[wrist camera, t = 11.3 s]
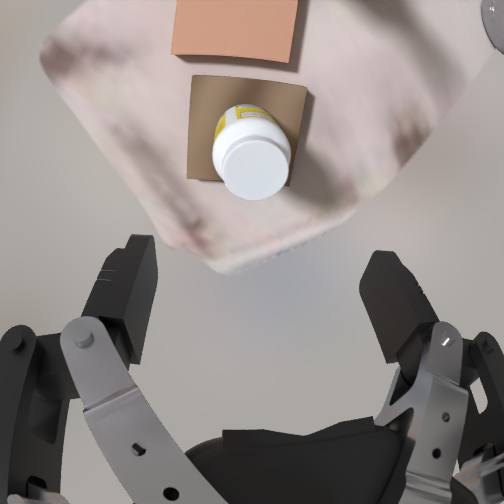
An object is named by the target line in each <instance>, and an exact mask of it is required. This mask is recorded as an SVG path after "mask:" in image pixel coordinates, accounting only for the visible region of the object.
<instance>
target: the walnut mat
mask: <svg viewBox="0 0 504 504" xmlns="http://www.w3.org/2000/svg"><path fill="white" fill-rule="evenodd" d="M306 93H307V87H304V86H300V85H294V84H288V83H282V82H275V81H267V80H259V79H250V78H239V77H227V76H208V75H193V76H192V83H191V96H190V111H189V129H188V152H187V179H202V180H220V181H224V180H223V179H222V178H221V177H220V176H219V175H218V173H217V171H216V169H215V167H214V163H213V155H212V152H213V144H214V137H215V131H216V126H217V123H218V121H219V119H220V117H221V116H222V115H223V114H224V113H225V112H226V111H227V110H229V109H230V108H232V107H234V106H237V105H241V104H251V105H256V106H258V107H261V108H263V109H264V110H266V111H267V112H268V113H269V114H270V115H271V116H272V118H273V119H274V120H275V122H276V123H277V124H278V126H279V127H280V128H281V130H282V131H283V133H284V134H285V136H286V137H287V139H288V142H289V145H290V149H291V158H290V163H289V173H288V178H287V180H286V183H285V184H284V186H289V184H290V179H291V174H292V169H293V163H294V158H295V153H296V148H297V142H298V137H299V132H300V126H301V121H302V115H303V110H304V104H305V99H306Z"/></svg>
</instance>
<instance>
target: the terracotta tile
mask: <svg viewBox="0 0 504 504" xmlns="http://www.w3.org/2000/svg"><path fill="white" fill-rule="evenodd" d="M297 5H298V0H177V6H176V13H175V21H174V29H173V38H172V48H171V55H215V56H232V57H243V58H253V59H262V60H269V61H276V62H283V63H289V57H290V50H291V44H292V37H293V31H294V24H295V18H296V11H297Z"/></svg>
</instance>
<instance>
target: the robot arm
mask: <svg viewBox="0 0 504 504" xmlns="http://www.w3.org/2000/svg"><path fill="white" fill-rule="evenodd" d="M482 18H483V22H484V26H485V29H486V31H487V34H488V36H489V38H490V40H491V41H492V43H493V44H494V46H495V47H496V48H497V49H498V50H499V51H500V52H501V53H502V54H504V0H483V1H482ZM155 252H156V251H155V242H154V237H153V235H135V234H132V235H131V236H130V238H129V240H128V243H127V245H126V247H125V249H121V248H117V249H116V250H114V251H113V252H112V253H111V254H110V255H109V256H108V257H107V258H106V260H105V262H104V264H103V267H102V269H101V271H100V273H99V275H98V277H97V281H96V282H95V284H94V286H93V289H92V291H91V293H90V296H89V298H88V300H87V303H86V305H85V308H84V310H83V312H82V315H81V317H79V318H76V319H74V320H72V321H71V322H69V323H68V324H67V325H66V326H65V327H64V329H63V331H62V332H61V333H57V334H50V335H42V336H36V335H35V333H34V332H33V330H32V329H31V328H30V327H28V326H25V325H17V326H14V327H12V328H10V329H9V330H8V331H7V332H6V333H5V334H4V335H3V337H2V339H1V341H0V504H70V503H69V502H68V501H67V500H66V499H65V498H64V497H63V496H62V495H60V482H61V481H60V480H61V465H62V453H63V443H64V435H65V427H66V420H67V414H68V408H69V402H70V399H75V398H81V400H82V402H83V405H84V408H85V409H84V411H83V414H84V417H85V420H86V422H87V424H88V426H89V428H90V430H91V432H92V434H93V436H94V438H95V440H96V442H97V444H98V446H99V447H100V449H101V451H102V453H103V455H104V456H105V458H106V460H107V462H108V463H109V465H110V467H111V468H112V470H113V472H114V473H115V475H116V476H117V478H118V479H119V481H120V482H121V484H122V485H123V487H124V488H125V490H126V491H127V493H128V494H129V496H130V497H131V499H132V500H133V501H134V503H133V504H500V503H501V502H502V501H504V355H503V353H502V351H501V348H500V346H499V345H498V342H497V341H496V339H495V338H494V337H493V336H492V335H491V334H489V333H487V332H480V333H479V334H478V335H477V336H476V337H475V338H474V340H469V339H464V338H462V337H461V335H460V333H459V332H458V330H457V329H456V328H455V327H454V326H452V325H451V324H449V323H447V322H443V321H442V322H440V321H439V319H438V317H437V315H436V313H435V312H434V310H433V308H432V306H431V304H430V302H429V301H428V299H427V297H426V296H425V294H423V291H422V289H421V287H420V286H418V282H417V280H416V279H415V277H414V275H413V274H412V273H411V272H410V271H409V270H408V269H407V268H406V267H405V266H404V265H403V264H402V263H401V261H400V259H399V258H398V256H397V255H396V253H395V252H393V251H379V250H376V251H375V252H374V253H373V254H372V256H371V258H370V261H369V263H368V265H367V268H366V269H365V272H364V274H363V276H362V278H361V280H360V285H359V292H360V296H361V298H362V301H363V303H364V305H365V308H366V310H367V313H368V315H369V318H370V320H371V323H372V325H373V328H374V331H375V333H376V335H377V338H378V341H379V344H380V346H381V349H382V352H383V354H384V357H385V360H386V363H387V364H388V363H394V362H399V365H400V366H399V367H398V368H397V370H396V372H395V375H394V378H393V381H392V384H391V387H390V389H389V392H388V395H387V398H386V401H385V403H384V406H383V408H382V410H381V412H380V414H379V415H378V416H377V417H376V419H375V420H373V416H371V417H366V418H361V419H355V420H350V421H343V422H339V423H337V424H335V425H333V426H330V427H327V428H325V429H323V430H320V431H317V432H315V433H312V434H310V435H305V436H301V435H293V434H287V433H281V432H275V431H270V430H264V429H260V430H259V429H258V430H223V431H222V437H219V438H215V439H211V440H208V441H205V442H203V443H200V444H198V445H196V446H194V447H193V448H191V449H190V450H188V451H186V452H185V453H183V451H182V450H181V449H180V447H179V446H178V445H177V444H176V442H175V441H174V439H173V438H172V437H171V435H170V434H169V433H168V431H167V430H166V429H165V427H164V426H163V424H162V423H161V421H160V420H159V418H158V417H157V415H156V414H155V412H154V411H153V410H152V408H151V407H150V405H149V403H148V402H147V400H146V399H145V397H144V395H143V394H142V392H141V391H140V389H139V388H138V386H137V385H136V384H135V382H134V381H133V379H132V378H131V376H130V374H129V372H128V371H129V366H130V363H131V364H138V365H139V364H140V361H141V356H142V351H143V346H144V341H145V336H146V331H147V326H148V321H149V317H150V313H151V308H152V304H153V300H154V296H155V291H156V287H157V281H158V268H157V260H156V253H155ZM479 377H480V380H481V383H482V385H483V388H484V390H485V393H486V396H487V400H488V404H487V407H486V409H485V410H484V412H482V413H481V414H479V413H478V410H477V406H476V403H475V400H474V397H473V394H472V391H471V389H470V385H471V384H472V383H473V382H474V381H476V380H477V379H478V378H479ZM457 459H458V464H459V469H460V473H457V474H456V475H455V476H454V477H453V476H452V475H453V471H454V467H455V464H456V460H457Z"/></svg>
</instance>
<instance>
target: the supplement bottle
mask: <svg viewBox="0 0 504 504" xmlns="http://www.w3.org/2000/svg"><path fill="white" fill-rule="evenodd" d="M212 155H213V163H214V167H215V169H216V171H217V173H218V175H219V176H220V177H221V178H222V179H223V180H224V182H225V184H226V186H227V188H228V189H229V190H230V191H231V192H232V193H233V194H234V195H236V196H237V197H239V198H242V199H245V200H250V201H259V200H264V199H267V198H270V197H272V196H273V195H275V194H276V193H278V192H279V191H280V190H281V189H282V187H283V186H284V184H285V183H286V180H287V178H288V173H289V163H290V158H291V149H290V145H289V142H288V139H287V137H286V136H285V134H284V133H283V131H282V130H281V128H280V127H279V126H278V124H277V123H276V122H275V120H274V119H273V118H272V116H271V115H270V114H269V113H268V112H267V111H266V110H264V109H263V108H261V107H258V106H256V105H251V104H241V105H237V106H234V107H232V108H230V109H229V110H227V111H226V112H225V113H224V114H223V115H222V116H221V117H220V119H219V121H218V123H217V126H216V131H215V137H214V144H213V152H212Z"/></svg>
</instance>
